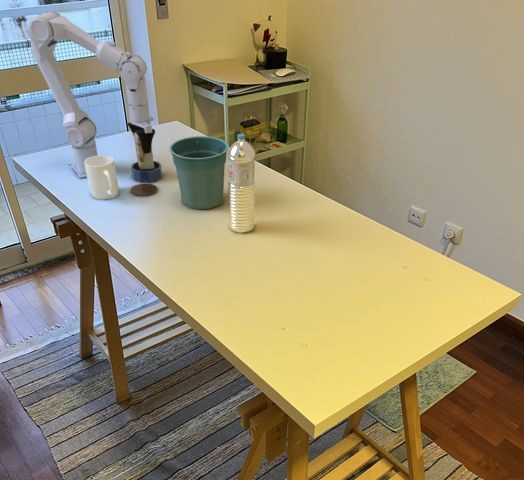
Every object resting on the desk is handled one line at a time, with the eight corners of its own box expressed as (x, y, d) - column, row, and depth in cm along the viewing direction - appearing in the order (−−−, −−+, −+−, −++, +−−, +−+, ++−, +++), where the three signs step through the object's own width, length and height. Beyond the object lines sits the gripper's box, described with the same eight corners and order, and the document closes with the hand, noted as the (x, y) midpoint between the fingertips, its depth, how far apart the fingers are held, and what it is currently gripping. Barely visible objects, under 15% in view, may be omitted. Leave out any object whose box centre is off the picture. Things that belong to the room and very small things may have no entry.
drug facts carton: (137, 164, 171) (133, 132, 165) (151, 162, 173) (147, 130, 166) (140, 170, 168) (136, 137, 161) (154, 168, 169) (150, 136, 162)
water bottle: (251, 234, 145) (251, 140, 128) (226, 232, 145) (224, 138, 129) (256, 223, 150) (257, 131, 133) (232, 220, 151) (230, 129, 134)
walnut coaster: (127, 188, 165) (126, 186, 165) (152, 183, 168) (151, 181, 168) (135, 198, 160) (135, 196, 160) (161, 193, 163) (160, 191, 163)
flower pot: (204, 219, 151) (201, 162, 140) (162, 202, 158) (156, 147, 148) (241, 199, 161) (240, 145, 150) (200, 184, 168) (197, 132, 158)
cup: (113, 185, 167) (107, 153, 160) (128, 200, 159) (123, 167, 152) (87, 191, 163) (80, 158, 156) (101, 207, 156) (94, 173, 149)
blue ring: (129, 174, 174) (127, 163, 171) (156, 168, 177) (155, 158, 175) (138, 184, 168) (136, 173, 165) (166, 179, 171) (165, 168, 169)
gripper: (159, 108, 154) (164, 155, 163) (142, 95, 164) (148, 140, 173) (136, 111, 152) (142, 159, 161) (120, 97, 161) (127, 143, 170)
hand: (144, 149), depth 167 cm, fingers closed on drug facts carton, 5 cm apart
